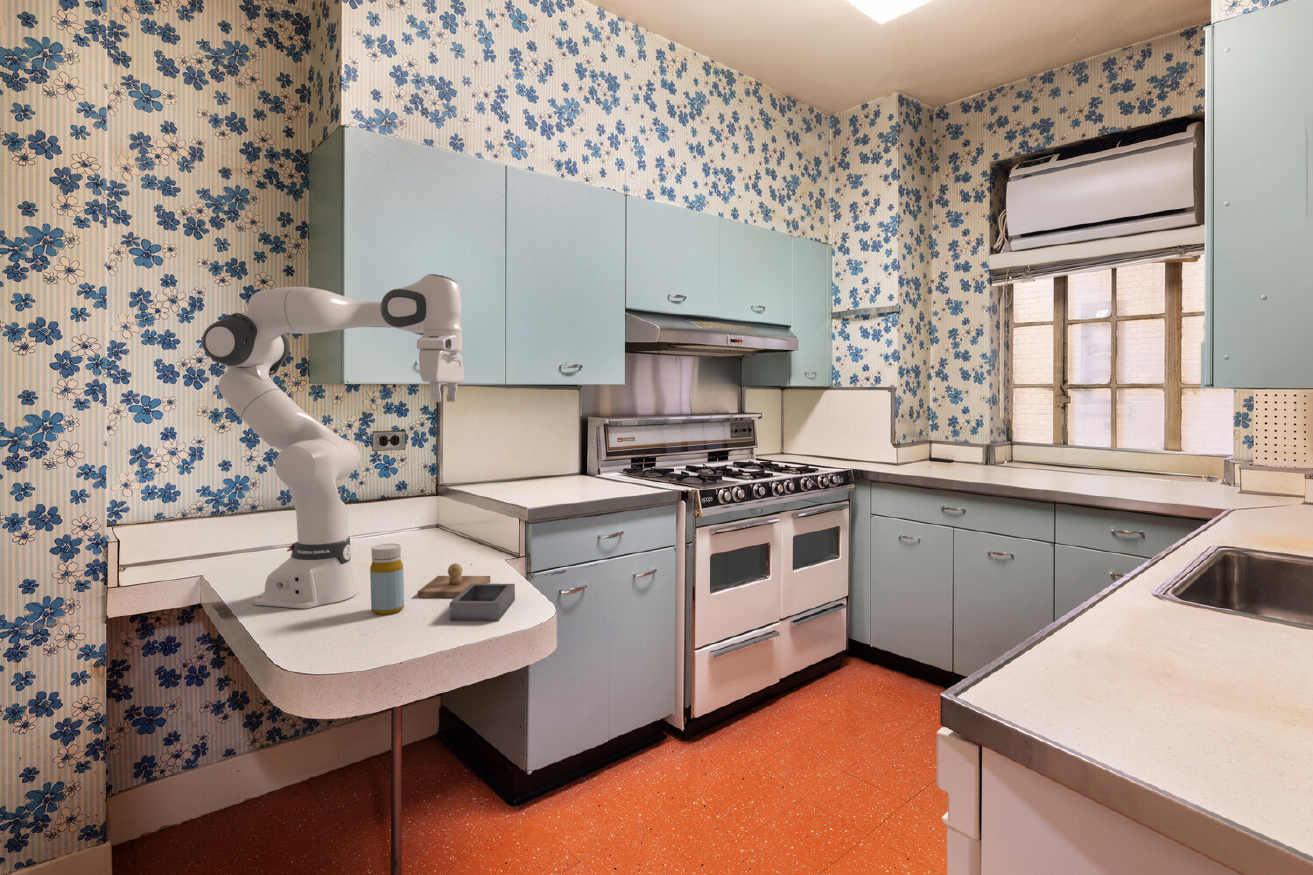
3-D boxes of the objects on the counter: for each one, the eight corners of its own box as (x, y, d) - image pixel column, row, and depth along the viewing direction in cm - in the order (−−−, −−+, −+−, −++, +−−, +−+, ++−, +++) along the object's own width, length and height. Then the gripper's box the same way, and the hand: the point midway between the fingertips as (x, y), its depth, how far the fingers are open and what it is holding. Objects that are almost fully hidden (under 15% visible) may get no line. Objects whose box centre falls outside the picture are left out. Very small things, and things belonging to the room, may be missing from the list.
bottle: (392, 616, 147) (390, 550, 146) (364, 614, 148) (362, 549, 147) (410, 606, 154) (408, 543, 153) (383, 605, 155) (381, 542, 154)
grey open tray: (449, 620, 144) (449, 602, 144) (470, 599, 159) (470, 583, 159) (498, 620, 144) (498, 603, 144) (515, 599, 159) (514, 583, 158)
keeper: (417, 597, 161) (417, 570, 160) (438, 581, 175) (437, 556, 174) (474, 597, 160) (473, 571, 160) (490, 581, 174) (489, 557, 174)
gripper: (445, 347, 167) (446, 401, 168) (413, 340, 147) (415, 402, 148) (469, 347, 167) (470, 401, 168) (441, 340, 147) (442, 402, 147)
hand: (444, 402), depth 158 cm, fingers open, 8 cm apart
